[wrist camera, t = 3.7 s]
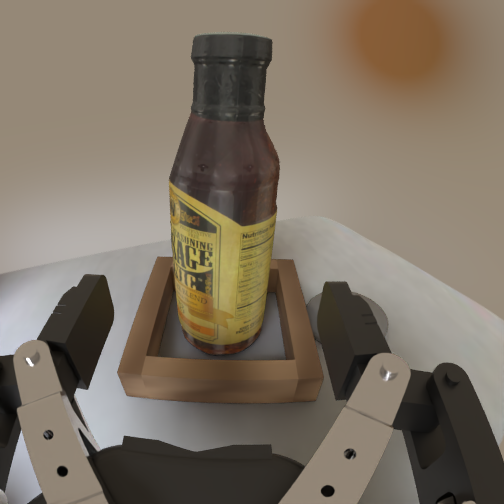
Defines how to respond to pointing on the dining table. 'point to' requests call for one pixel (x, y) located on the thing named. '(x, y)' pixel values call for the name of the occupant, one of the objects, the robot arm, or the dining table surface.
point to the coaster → (376, 309)
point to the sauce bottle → (224, 195)
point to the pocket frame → (221, 371)
